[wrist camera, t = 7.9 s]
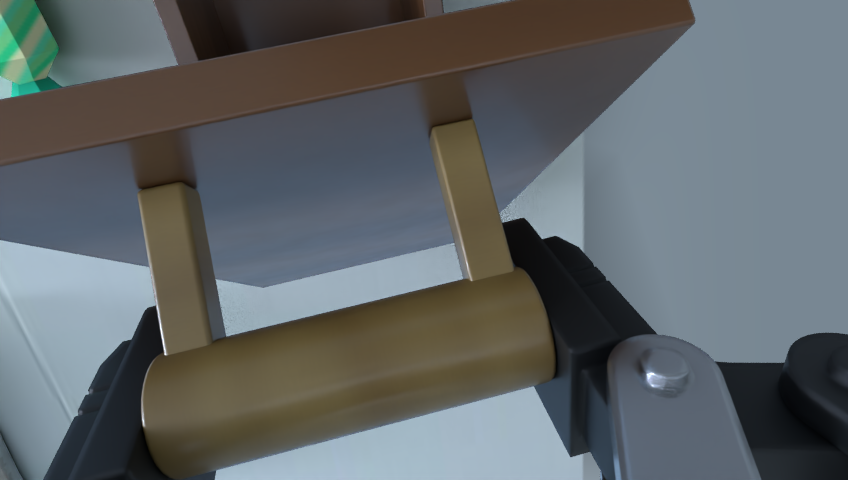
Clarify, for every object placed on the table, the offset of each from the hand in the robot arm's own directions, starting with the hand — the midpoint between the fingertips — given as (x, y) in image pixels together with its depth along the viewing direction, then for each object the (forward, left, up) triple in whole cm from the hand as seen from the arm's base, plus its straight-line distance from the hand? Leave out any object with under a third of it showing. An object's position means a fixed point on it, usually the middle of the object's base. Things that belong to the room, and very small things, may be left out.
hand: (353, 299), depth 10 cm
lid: (+1, 0, -6) cm, 6 cm away
